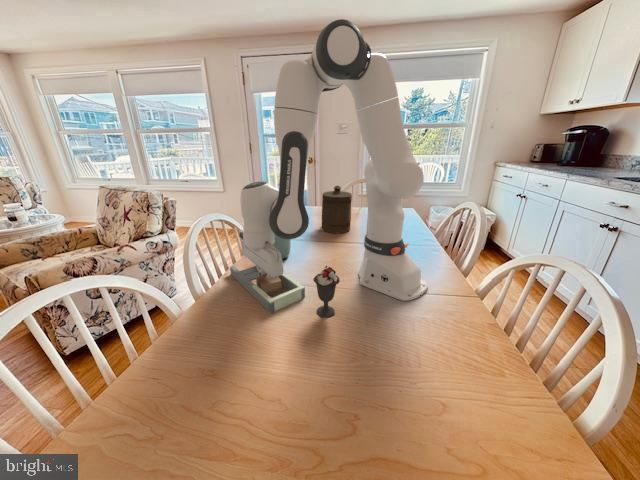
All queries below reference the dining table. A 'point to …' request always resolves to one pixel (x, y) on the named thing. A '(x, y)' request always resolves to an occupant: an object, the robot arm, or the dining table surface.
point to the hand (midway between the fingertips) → (263, 277)
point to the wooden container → (336, 211)
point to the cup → (283, 246)
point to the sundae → (326, 290)
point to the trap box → (269, 303)
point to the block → (269, 284)
